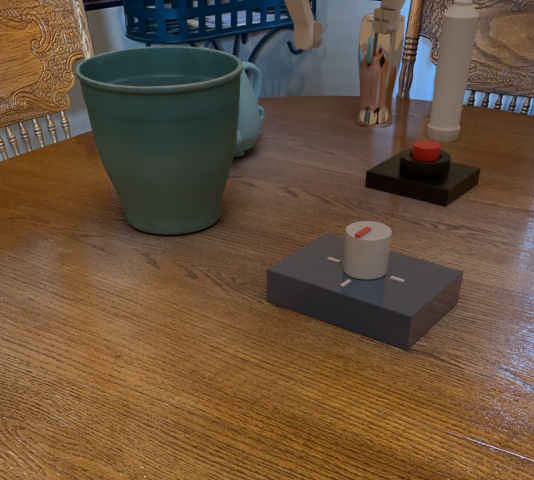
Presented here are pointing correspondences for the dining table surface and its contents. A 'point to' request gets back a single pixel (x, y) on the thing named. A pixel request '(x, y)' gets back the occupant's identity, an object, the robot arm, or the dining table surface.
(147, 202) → the flower pot
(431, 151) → the button
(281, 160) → the dining table surface
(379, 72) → the beer glass
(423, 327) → the panel
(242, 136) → the decorative pot
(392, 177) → the box
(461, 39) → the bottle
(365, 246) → the tap knob
